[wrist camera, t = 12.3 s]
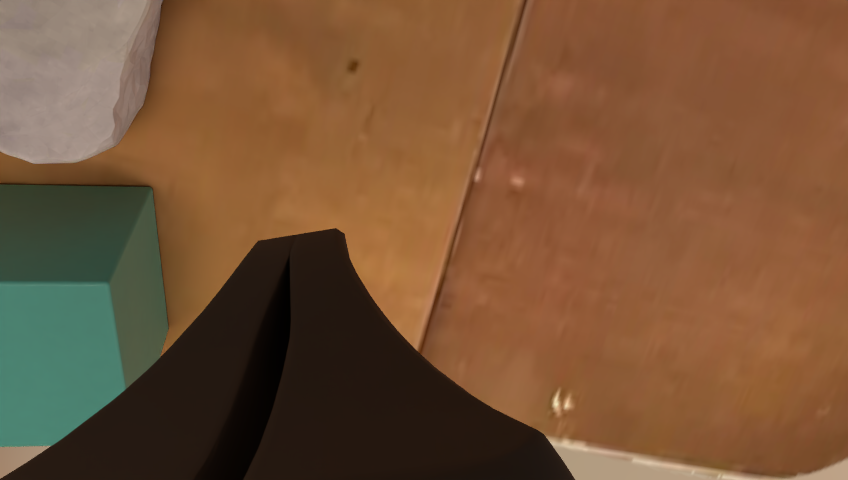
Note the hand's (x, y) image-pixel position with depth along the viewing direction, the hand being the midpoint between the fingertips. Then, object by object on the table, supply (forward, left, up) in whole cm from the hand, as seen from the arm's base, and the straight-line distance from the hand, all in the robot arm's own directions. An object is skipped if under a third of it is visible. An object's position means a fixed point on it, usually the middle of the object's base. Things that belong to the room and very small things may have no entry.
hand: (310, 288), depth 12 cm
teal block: (+8, +4, -10) cm, 14 cm away
